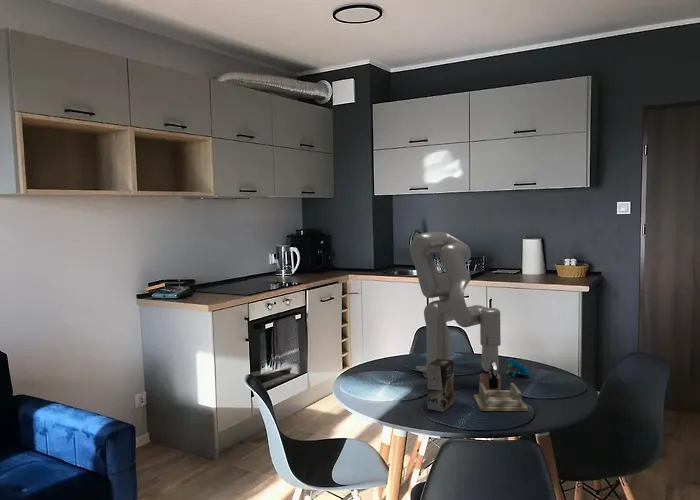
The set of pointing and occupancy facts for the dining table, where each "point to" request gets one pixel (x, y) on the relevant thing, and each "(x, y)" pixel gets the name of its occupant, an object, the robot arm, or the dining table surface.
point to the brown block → (485, 380)
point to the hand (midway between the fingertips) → (490, 384)
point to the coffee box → (440, 384)
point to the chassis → (500, 399)
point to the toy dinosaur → (517, 367)
